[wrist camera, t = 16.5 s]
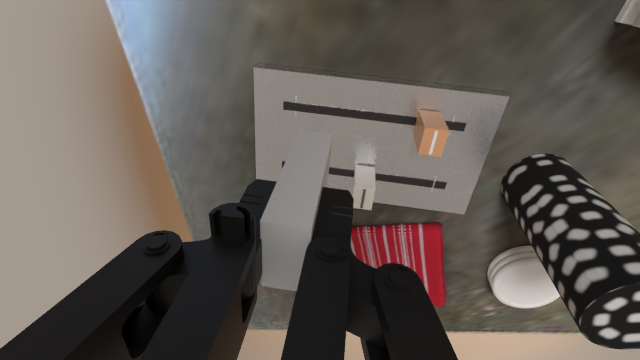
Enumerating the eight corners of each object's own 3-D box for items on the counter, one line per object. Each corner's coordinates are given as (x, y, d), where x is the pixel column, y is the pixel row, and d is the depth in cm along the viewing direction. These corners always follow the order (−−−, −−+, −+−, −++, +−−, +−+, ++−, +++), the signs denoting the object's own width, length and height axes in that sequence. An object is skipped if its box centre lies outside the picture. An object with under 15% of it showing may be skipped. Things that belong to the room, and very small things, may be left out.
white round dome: (490, 244, 50) (498, 261, 47) (566, 243, 49) (578, 261, 46) (482, 291, 55) (488, 309, 52) (550, 291, 54) (561, 310, 51)
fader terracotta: (418, 109, 39) (425, 127, 34) (440, 112, 38) (449, 130, 34) (413, 134, 40) (418, 154, 36) (433, 136, 40) (441, 157, 36)
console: (258, 63, 40) (253, 67, 39) (503, 91, 39) (509, 97, 37) (260, 178, 49) (256, 186, 47) (460, 205, 47) (464, 214, 45)
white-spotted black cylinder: (576, 147, 41) (719, 275, 24) (570, 204, 45) (690, 346, 28) (500, 160, 43) (584, 286, 26) (501, 213, 47) (574, 351, 30)
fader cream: (355, 164, 43) (354, 186, 39) (375, 167, 43) (375, 189, 39) (352, 184, 45) (350, 207, 41) (371, 187, 45) (371, 210, 40)
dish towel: (444, 297, 58) (447, 311, 56) (307, 301, 63) (305, 313, 60) (443, 216, 49) (447, 228, 47) (285, 227, 54) (281, 238, 52)
